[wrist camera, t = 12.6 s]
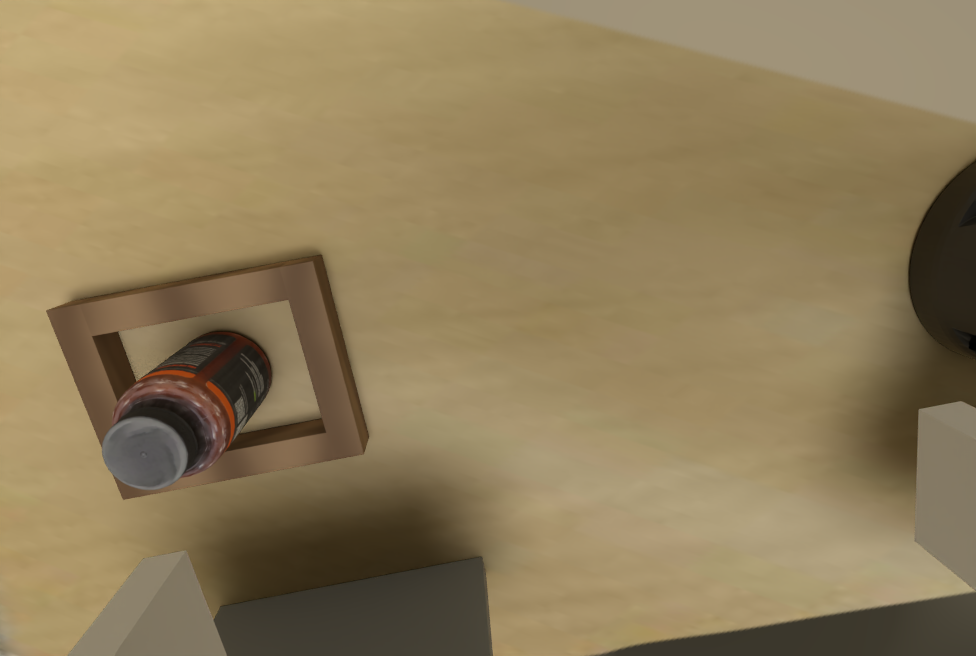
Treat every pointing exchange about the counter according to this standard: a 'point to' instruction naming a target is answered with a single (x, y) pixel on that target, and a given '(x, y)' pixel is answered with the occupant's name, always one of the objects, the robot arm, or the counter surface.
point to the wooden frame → (302, 281)
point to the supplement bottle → (186, 411)
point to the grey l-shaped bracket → (369, 617)
